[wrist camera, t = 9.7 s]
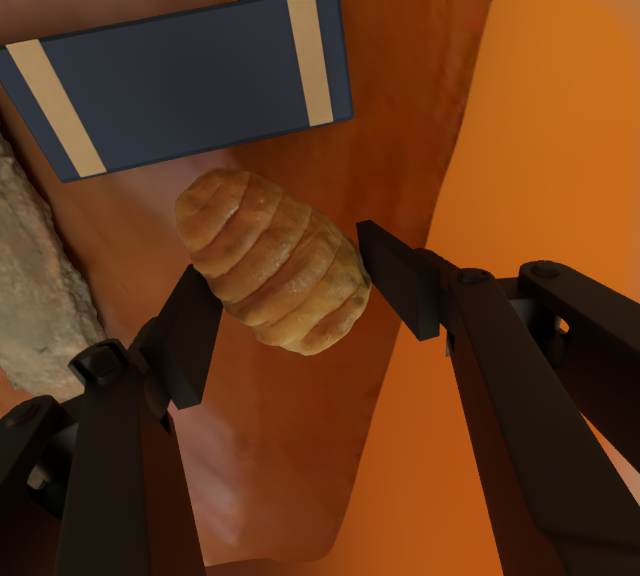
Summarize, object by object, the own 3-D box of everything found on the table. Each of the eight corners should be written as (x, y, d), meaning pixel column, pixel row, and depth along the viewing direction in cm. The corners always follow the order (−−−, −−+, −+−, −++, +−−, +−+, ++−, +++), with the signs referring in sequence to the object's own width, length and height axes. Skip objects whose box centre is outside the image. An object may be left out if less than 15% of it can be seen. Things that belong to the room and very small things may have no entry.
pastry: (148, 232, 13) (110, 262, 10) (250, 123, 12) (246, 114, 9) (289, 340, 17) (297, 387, 14) (374, 267, 16) (405, 299, 13)
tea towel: (331, -5, 18) (341, -26, 16) (347, 120, 21) (357, 117, 19) (6, 57, 17) (-34, 43, 14) (77, 180, 20) (54, 185, 18)
